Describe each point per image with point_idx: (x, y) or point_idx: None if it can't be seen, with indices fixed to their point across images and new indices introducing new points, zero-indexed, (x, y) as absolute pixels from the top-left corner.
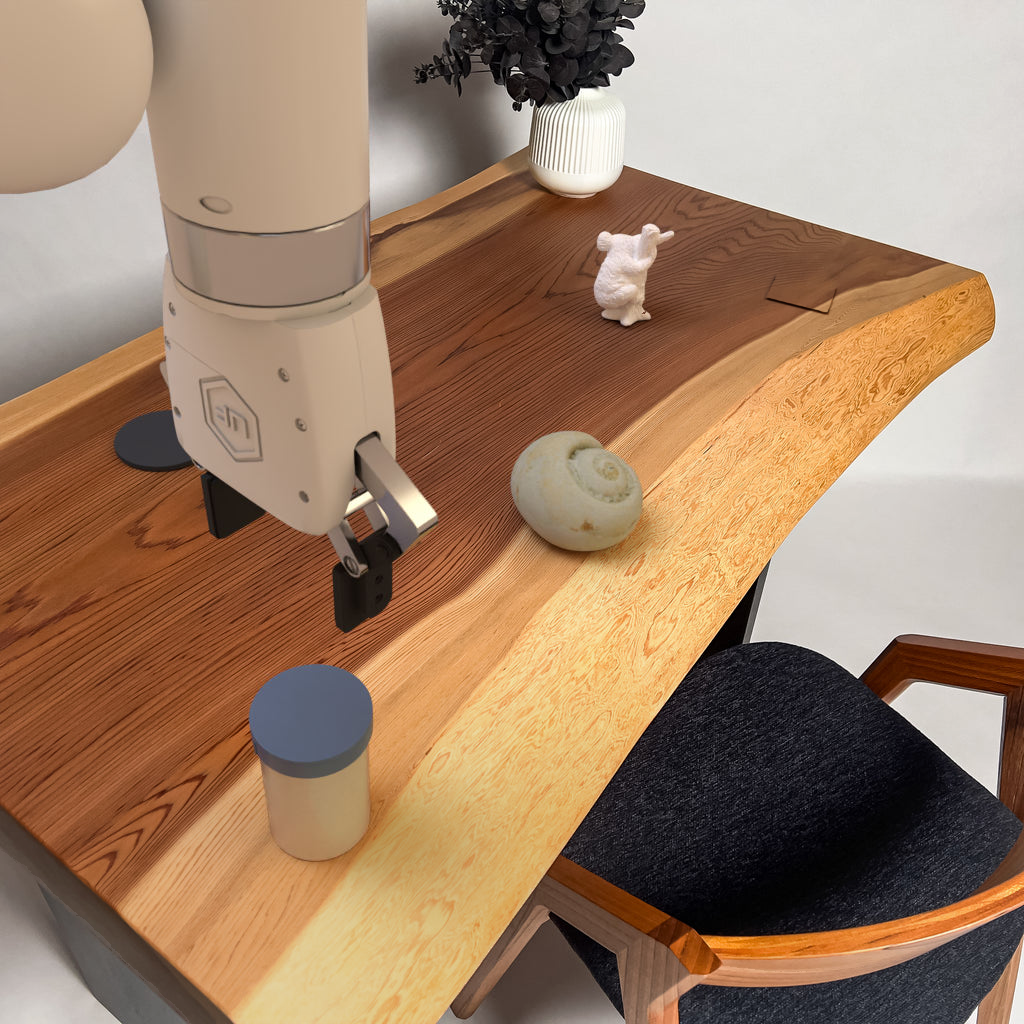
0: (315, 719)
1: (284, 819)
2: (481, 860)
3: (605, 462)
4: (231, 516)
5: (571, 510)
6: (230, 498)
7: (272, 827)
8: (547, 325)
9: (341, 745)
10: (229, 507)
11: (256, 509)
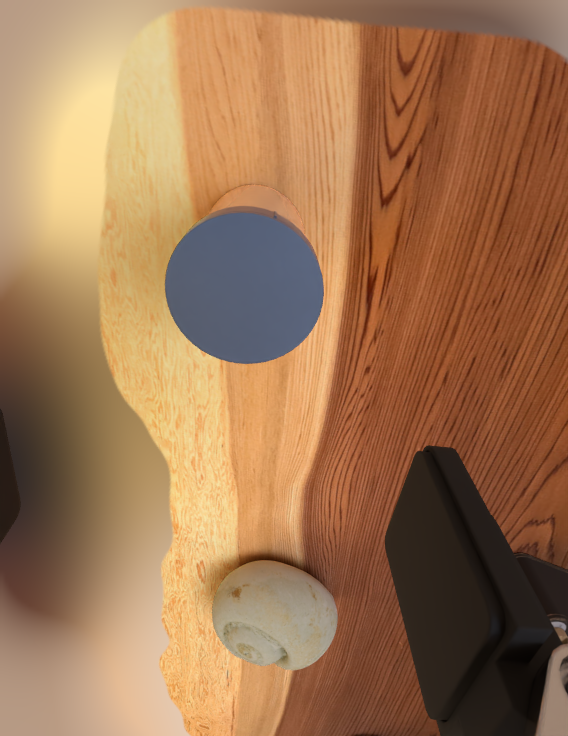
0: (230, 287)
1: (246, 194)
2: (105, 284)
3: (252, 657)
4: (422, 514)
5: (253, 603)
6: (438, 568)
7: (273, 192)
8: (415, 715)
9: (175, 275)
10: (432, 538)
11: (397, 546)
